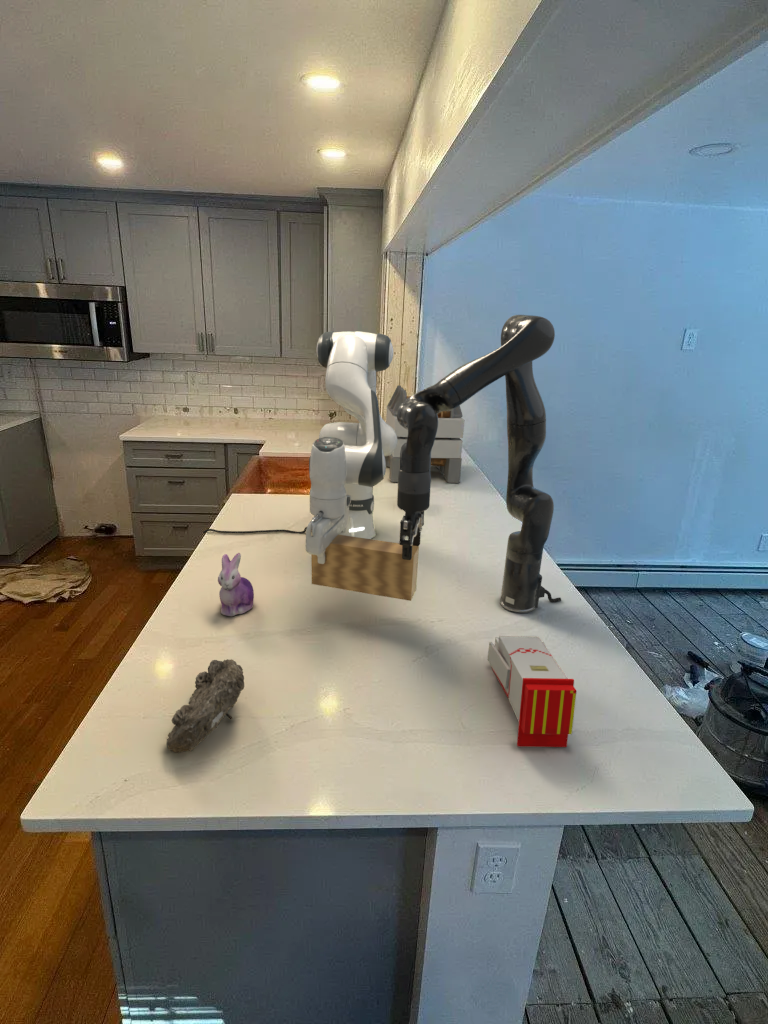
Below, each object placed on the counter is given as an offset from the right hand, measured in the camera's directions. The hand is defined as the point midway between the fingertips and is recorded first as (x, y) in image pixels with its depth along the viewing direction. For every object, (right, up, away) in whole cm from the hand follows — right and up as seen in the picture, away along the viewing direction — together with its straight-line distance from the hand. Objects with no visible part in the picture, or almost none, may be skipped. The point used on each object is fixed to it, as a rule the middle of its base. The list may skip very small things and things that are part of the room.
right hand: (411, 552), depth 136 cm
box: (-12, -9, +7) cm, 17 cm away
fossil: (-39, -30, -28) cm, 56 cm away
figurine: (-45, -15, +11) cm, 48 cm away
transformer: (+11, +28, +139) cm, 142 cm away
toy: (+22, -29, -19) cm, 41 cm away
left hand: (-21, -2, +7) cm, 22 cm away
